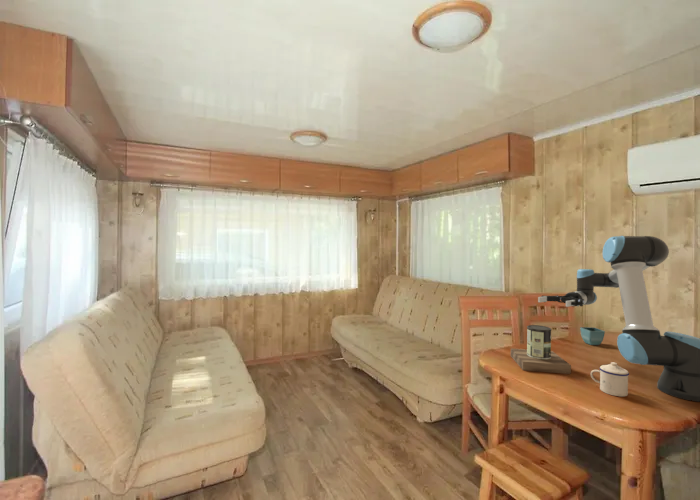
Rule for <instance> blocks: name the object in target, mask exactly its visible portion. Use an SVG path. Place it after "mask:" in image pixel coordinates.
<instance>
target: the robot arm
mask: <svg viewBox="0 0 700 500" xmlns="http://www.w3.org/2000/svg"><path fill="white" fill-rule="evenodd" d="M669 252H670V249H669V246H668V244H667V243H666V242H665V241H663V239H661V238H659V237H656V236H651V235H641V236H640V235H636V236H635V235H632V236H631V235H617V236H616V235H615V236H610V237H609V238H608V239H606V241H605V242H604V244H603V248H602V258H603V260H604V261H605V262H606V263H608V264H609V263H610V268H612V270H610V271H609V272H595V270H594V269H591V268H590V269H588V268H587V269H586V268H579V269H577V273H576V291H569V292H566V293H565V294H564V295H558V294H557V295H541V296H538V297H537V303H547V302H557V303H562V304H565V307H566V308H568V307H577V308H578V307H583V306H586V305H592V304H594V303H596V301H597V299H598V296H597V294H596V292H594V287H595V288H596V287H599V288H615V289H616V288H619V293H620V300H621V306H622V312H623V315H624V316H623V317H624V322H625V325H624V327H623V328H622V329H621V332H622V333H619V335H618V336H617V339H616V344H617V348H618V351H619V353H620V355H621V356H622V357H623V358H624V359H625V360H626V361H628V362H629V363H631V364H636V365H637V364H638V365H641V366H643V365H644V366H660V367H663V370H662V372H661V373H660V376H659V379H658V380H657V383H656V387H657V389H658V390H659V391H660V392H662V393H664V394H667V395H669V396H672V397H675V398H678V399H681V400H687V401H691V400H692V402H700V338H699V337H696V336H693V335H689V334H685V333H681V332H675V331H664V333H663V335H661V331H660V329H658V328H657V327H655V325H654V321H653V317H652V311H651V307H650V302H649V297H648V292H647V287H646V282H645V277H644V272H643V271H645V270H646V269H648V268H650V267H651V268H652V267H657V266H658V265H660V264H662V263H663V262H665V261H666V260H667V258H668V257H669Z"/></svg>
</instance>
